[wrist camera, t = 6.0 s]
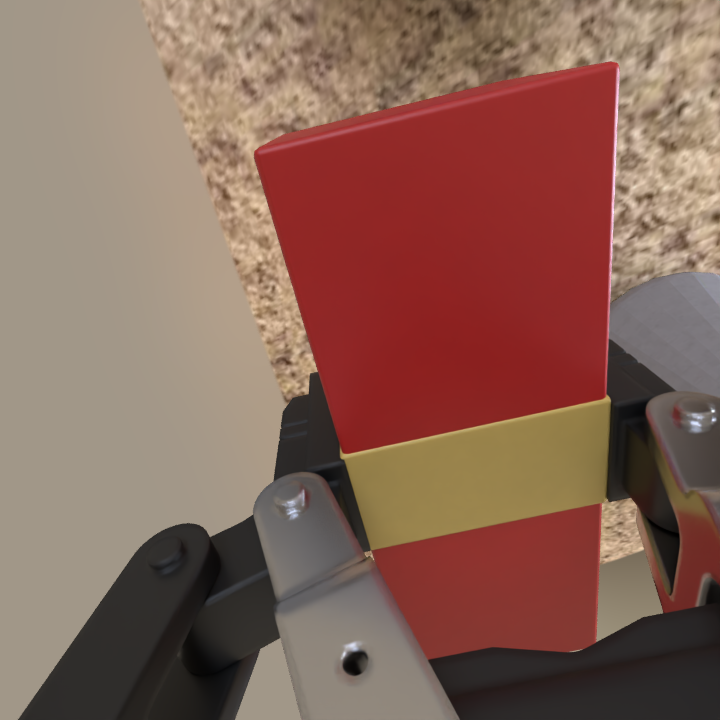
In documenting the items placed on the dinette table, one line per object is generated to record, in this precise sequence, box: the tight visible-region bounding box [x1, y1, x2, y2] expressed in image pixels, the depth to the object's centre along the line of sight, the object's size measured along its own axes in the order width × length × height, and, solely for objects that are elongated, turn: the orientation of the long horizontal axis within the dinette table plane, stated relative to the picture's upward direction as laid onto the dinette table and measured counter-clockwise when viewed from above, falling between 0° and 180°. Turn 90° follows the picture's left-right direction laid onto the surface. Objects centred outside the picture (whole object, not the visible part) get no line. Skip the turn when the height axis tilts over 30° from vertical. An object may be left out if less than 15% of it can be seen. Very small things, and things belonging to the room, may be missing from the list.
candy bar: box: [254, 62, 620, 660], centre depth 10 cm, size 12×5×4 cm, turn 12°
